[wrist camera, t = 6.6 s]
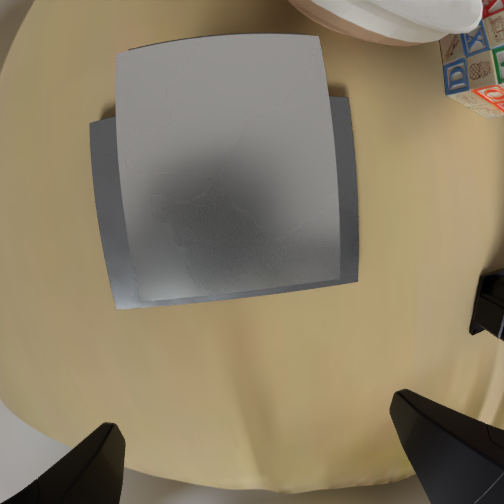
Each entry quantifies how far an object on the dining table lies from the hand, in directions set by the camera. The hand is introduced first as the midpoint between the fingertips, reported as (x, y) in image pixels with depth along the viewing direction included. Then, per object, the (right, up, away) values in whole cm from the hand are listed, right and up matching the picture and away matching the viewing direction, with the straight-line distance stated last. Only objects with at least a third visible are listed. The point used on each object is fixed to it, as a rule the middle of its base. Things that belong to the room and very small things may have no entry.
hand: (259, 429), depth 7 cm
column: (-1, +9, +6) cm, 11 cm away
